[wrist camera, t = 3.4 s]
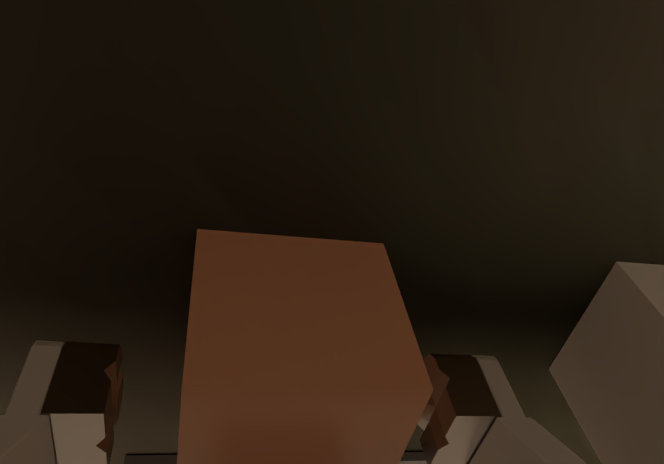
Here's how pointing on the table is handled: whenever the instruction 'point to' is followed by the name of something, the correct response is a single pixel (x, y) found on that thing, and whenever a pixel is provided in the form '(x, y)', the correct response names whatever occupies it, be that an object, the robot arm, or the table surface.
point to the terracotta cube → (297, 354)
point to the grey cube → (619, 366)
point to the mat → (410, 460)
